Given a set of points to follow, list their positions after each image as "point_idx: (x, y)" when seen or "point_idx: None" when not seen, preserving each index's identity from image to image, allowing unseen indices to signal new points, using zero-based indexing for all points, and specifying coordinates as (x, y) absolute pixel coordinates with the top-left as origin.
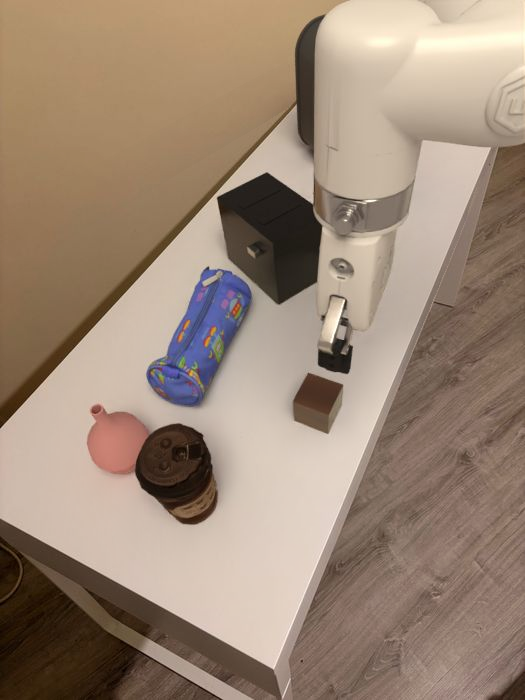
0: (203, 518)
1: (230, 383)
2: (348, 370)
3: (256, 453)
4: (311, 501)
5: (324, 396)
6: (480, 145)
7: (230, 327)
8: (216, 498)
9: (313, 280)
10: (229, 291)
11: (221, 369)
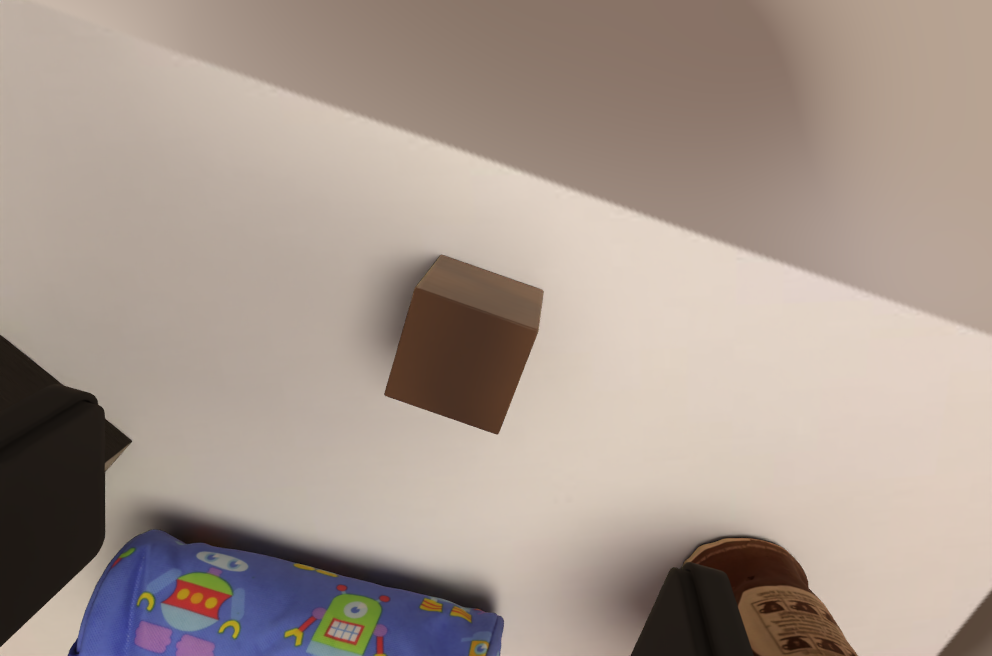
0: (798, 567)
1: (415, 535)
2: (734, 603)
3: (613, 463)
4: (751, 325)
5: (468, 344)
6: None
7: (264, 600)
8: (747, 546)
9: (6, 358)
10: (145, 646)
11: (376, 557)
